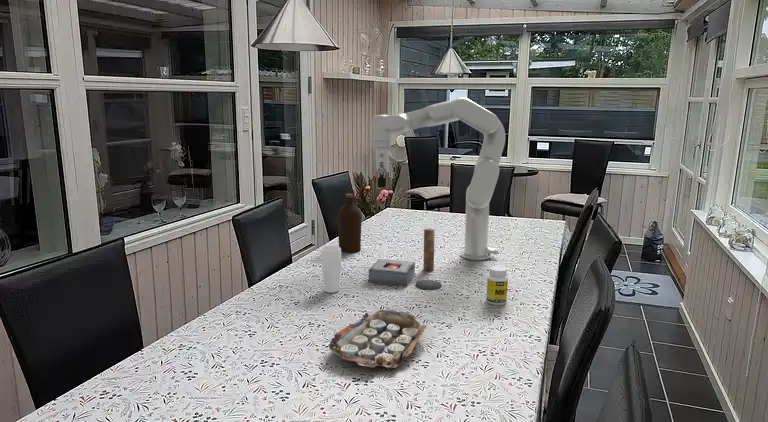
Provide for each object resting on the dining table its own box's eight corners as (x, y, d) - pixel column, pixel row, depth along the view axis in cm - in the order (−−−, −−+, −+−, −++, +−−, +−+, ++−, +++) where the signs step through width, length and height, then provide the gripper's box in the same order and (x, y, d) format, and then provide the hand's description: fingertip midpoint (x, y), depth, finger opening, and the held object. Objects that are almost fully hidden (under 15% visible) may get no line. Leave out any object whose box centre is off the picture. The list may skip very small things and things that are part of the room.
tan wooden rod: (434, 268, 206) (435, 228, 202) (432, 271, 202) (433, 231, 199) (424, 268, 207) (425, 228, 203) (422, 271, 203) (423, 230, 200)
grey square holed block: (414, 274, 198) (415, 261, 197) (407, 286, 185) (407, 272, 184) (378, 271, 202) (378, 258, 201) (368, 283, 189) (368, 269, 188)
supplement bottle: (494, 306, 167) (496, 272, 165) (482, 300, 172) (483, 267, 170) (510, 303, 170) (512, 269, 167) (497, 297, 175) (499, 264, 173)
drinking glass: (345, 289, 182) (344, 247, 179) (335, 295, 176) (334, 251, 173) (328, 286, 185) (327, 244, 182) (317, 292, 179) (317, 249, 176)
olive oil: (346, 255, 224) (346, 196, 219) (332, 249, 232) (332, 193, 227) (366, 250, 231) (366, 194, 226) (352, 245, 239) (352, 191, 234)
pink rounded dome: (399, 272, 195) (399, 265, 194) (396, 275, 190) (397, 269, 190) (388, 271, 196) (388, 265, 195) (385, 274, 192) (385, 268, 191)
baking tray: (400, 385, 121) (401, 364, 119) (315, 368, 128) (315, 347, 127) (434, 333, 148) (434, 315, 147) (362, 321, 155) (362, 303, 154)
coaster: (442, 282, 189) (442, 280, 189) (439, 290, 181) (439, 289, 181) (418, 280, 192) (418, 278, 192) (413, 288, 183) (413, 286, 183)
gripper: (390, 146, 211) (390, 188, 214) (390, 143, 228) (390, 182, 231) (372, 146, 211) (372, 188, 215) (373, 143, 228) (373, 182, 232)
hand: (381, 185), depth 223 cm, fingers open, 9 cm apart
